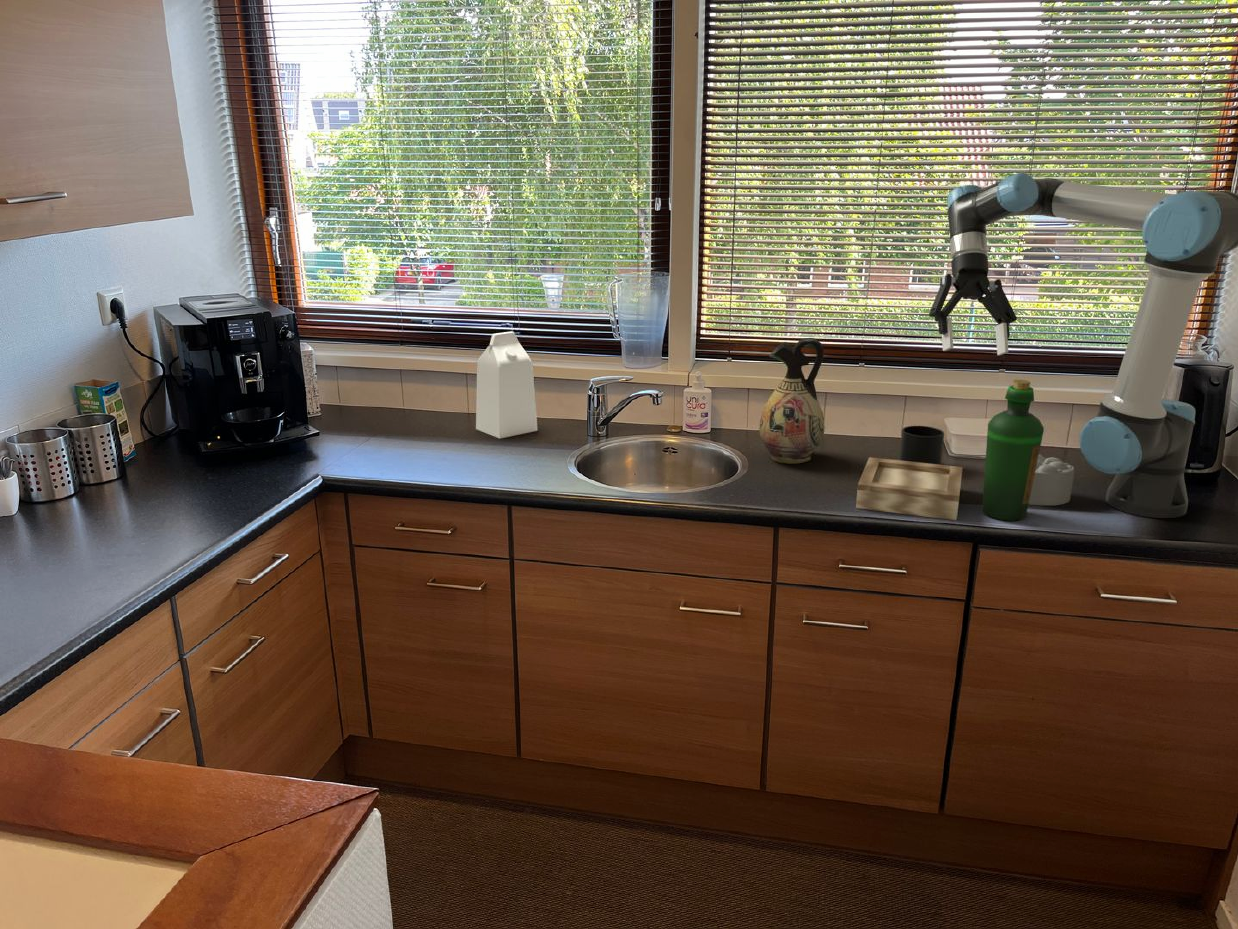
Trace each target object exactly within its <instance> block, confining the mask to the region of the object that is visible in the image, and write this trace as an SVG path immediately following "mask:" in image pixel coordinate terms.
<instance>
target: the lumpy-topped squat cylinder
mask: <svg viewBox="0 0 1238 929" xmlns="http://www.w3.org/2000/svg"><path fill="white" fill-rule="evenodd" d="M1074 475H1075V467H1074V466H1073V465H1070V464H1069V463H1068V462H1066V463H1065V462H1064V461H1062V460H1061V459H1059V458H1058V457H1048V458H1045V457H1044V456H1043V455H1042V454H1039V456H1038V461H1037V465H1036V470H1035V475H1034V480H1033V485H1032V489H1031V494H1030V499H1029V504H1028V506H1029V505H1030V506H1031V505H1032V506H1058V505H1064V504H1066V503H1069V502H1070V500H1071V495H1072V489H1073V484H1074Z"/></svg>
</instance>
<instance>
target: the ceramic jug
mask: <svg viewBox="0 0 1238 929" xmlns="http://www.w3.org/2000/svg"><path fill="white" fill-rule="evenodd" d="M806 347H808V348H813V349H814V351H815V352H816V357H815V360H814V363H813V365H812V368H811V371H810V372H809V374H808V376H807V378H805V375H804V372H803V371H802V367H805V366H809V364H810V361H809V359H808V357H807V356H806V354H804V352H802V349H803V348H806ZM769 357H770V358H772V359H774V360H777V361H779V362H781V363H783V364H785V366H786V367H787V369H786V370H787V371H786V373H785V376H784V378H783V380H782V381H780V383H779V384H778V385H777V387H776V388H775V389H774V391H773V392H772V393H771V395H770V397H769V398H768V400H767V401H766V403H765V405H764V407H763V410H762V413H761V416H760V420H759V424H758V425H759V428H758V430H759V435H760V440H761V442H762V443H763V445H764V447H765V448H766V449H767V451H768V452H769V454H770V455H769V457H770V459H771V460H773V461H774V462H777V463H781V464H788V465H790V464H791V465H792V464H794V465H795V464H802V463H805V462H809V461H811V459H812V457H811V455H812V454H813V453H814V452H815V451H816V450H817V448H818V447H819V446H821V444H822V442H823V438H824V434H825V418H824V417H825V416H824V413H823V410H822V408H821V404H820V402H819V400H818V396H817V391H816V386H815V385H816V384H815V380H816V377H817V375H818V373H819V371H820V368H821V366H822V364H823V360H824V347H823V344H822V343H821V342H820V340H818V339H816V338H814V337H807V338H806V337H804V338H802V339H800V340H798V341H797V343H795V345H794V347H793V348H792V347H791V345H790V344H789V342H787V341H784V342H782V343H781V344H779V345H778V346H777V347H776V348H775V349H774V350H772V352H771V353H770V354H769Z"/></svg>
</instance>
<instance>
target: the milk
mask: <svg viewBox="0 0 1238 929" xmlns="http://www.w3.org/2000/svg"><path fill="white" fill-rule="evenodd" d="M534 378H535V377H534V366H533V361H532V360H531V357H530V355H528V353H527V351H526V350H525V349H524V348H523V346H522V345H521V342H519V340H518V337H517V335H516V333H515V332H514V331H506V332H505V331H504V332H498V333H497V332H496V333H492V334H491V337H490V343H489V345H488V346H487V347H486V349H485V350H484V351H483V353H481V355H480V356H479V357H478V360H477V364H476V401H475V402H476V405H475V406H476V408H475V411H476V412H475V430H476V431H479V432H482V433H485V434H487V435H490V436H492V437H494V438H497V439H504V438H509V437H513V436H518V435H523V434H527V433H532V432H537V431H538V418H537V404H536V390H535V379H534Z"/></svg>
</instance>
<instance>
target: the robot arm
mask: <svg viewBox="0 0 1238 929" xmlns="http://www.w3.org/2000/svg"><path fill="white" fill-rule="evenodd" d="M946 212H947V214H946V215H947V219H948V227H949V228H948V229H949V245H950V247H949V248H950V249H949V250H950V258H951V262H950V264H951V274H950V273H947V274H946V275H944V276H941V277H940V279H939V280H940V282H939V288H938V291H937V293H936V296H935V298H934V301H933V303H932V305H931V307H930V310H929V312H928V315H929V317H930V318H934V322H935V323H938V325H937V326H938V333H939V335H941V343H942V346H941V347H942V351H943V352H947V351H949V350H951V349H953V348H954V336H953V320H952V319H953V318H951V317H949V315H950V314H951V313H952V311H953V310H954V309H955V307H956V306H957V305H958V303H959V302H960V301H961V300H968V299H969V300H972V301H976V300H977V301H978V303H980V304H982V305H983V307H984V308H985V309H986V311H987V312H988V313H989V314H990V315H991V317H992V318H993V320H994V321H995V322H996V323H997V325H995V340H996V341H995V342H996V353H997V354H996V355H997V356H1002V355H1005V354H1007V353H1009V342H1008V341H1009V340H1008V339H1010V337H1011V336H1010V335H1011V334H1010V324H1012V323H1014V322H1016V321H1017V319H1018V317H1017V315H1016V313H1015V311H1014V309H1013V307H1012V305H1011V302H1010V300H1009V299H1008V297H1007V295H1006V292H1005V291H1004V289H1003V284H1002V280H1001V279H999V278H997V279H995V280H989V278H988V275H989V274H988V273H989V270H990V269H989V268H990V267H989V257H988V255H987V254H988V253H989V252H988V242H987V240H988V239H987V229H986V228H987V225H991V224H993V223H995V222H997V221H1000V220H1003V219H1005V218H1008V217H1018V216H1019V217H1021V216H1045V217H1051V218H1059V219H1065V220H1066V219H1067V220H1073V221H1080V222H1084V223H1085V222H1086V223H1091V224H1099V225H1105V226H1111V227H1116V228H1117V227H1118V228H1123V229H1130V230H1136V231H1141V238H1142V242H1143V243H1144V245H1145V250H1146V253H1145V257H1144V260H1143V264H1144V265H1145V266H1146V268H1147V269H1148V272H1149V274H1148V277H1147V281H1146V284H1145V287H1144V291H1143V294H1142V297H1141V300H1140V304H1139V307H1138V310H1137V313H1136V316H1135V319H1134V322H1133V325H1132V329H1131V332H1130V335H1129V340H1128V342H1127V345H1126V349H1125V351H1124V352H1125V353H1124V355H1123V358H1122V361H1121V365H1120V367H1119V371H1118V373H1117V377H1116V380H1115V384H1114V386H1113V390H1112V392H1111V393H1109V394H1107V395H1104V396H1103V397H1102V398H1101V401H1100V404H1099V407H1098V410H1097V413H1096V417H1093V418H1092V419H1090V420H1088V422H1087V423H1086V424H1085V425H1083V427H1082V429H1081V431H1080V435H1079V447H1080V451H1081V453H1082V455H1083V456H1084V457H1085V461H1086V462H1087V463H1088V464H1089V465H1090V466H1091V467H1092V468H1094V469H1095V470H1097V471H1098V472H1101V473H1105V474H1107V475H1108V474H1109V475H1115V476H1114V478H1113V479H1112V481H1111V483H1110V484H1109V487H1107V491H1106V496H1105V497H1106V498H1105V502H1106V504H1108V505H1109V506H1110V507H1111V508H1114V509H1116V510H1118V511H1121V512H1124V513H1127V514H1131V515H1135V516H1139V517H1146V518H1155V519H1174V518H1180V517H1183V516H1184V515H1186V514H1187V511H1188V507H1189V498H1188V493H1187V487H1186V483H1185V469H1186V464H1187V461H1188V455H1189V449H1190V444H1191V440H1192V435H1193V430H1194V427H1195V425H1196V421H1195V420H1196V419H1195V418H1196V408H1195V407H1194V406H1193V405H1191V404H1189V403H1187V402H1183V401H1179V400H1174V399H1170V398H1163V397H1164V394H1165V391H1166V389H1167V385H1168V382H1169V380H1170V378H1171V373H1172V370H1173V367H1174V365H1175V362H1176V358H1177V356H1178V353H1179V349H1180V346H1181V344H1182V341H1183V337H1184V334H1185V333H1186V332H1185V331H1186V328H1187V325H1188V323H1189V319H1190V317H1191V314H1192V311H1193V307H1194V305H1195V301H1196V299H1197V296H1198V293H1199V290H1200V287H1201V285H1202V284H1201V283H1202V282H1203V281H1204V280H1205V279H1207V278H1209V277H1211V276H1212V275H1214V274H1215V272H1216V269H1217V266H1218V263H1219V260H1220V257H1221V255H1223V254H1227V253H1229V252H1231V251H1233V250H1235V249H1237V248H1238V193H1236V192H1232V191H1230V190H1197V191H1196V190H1187V191H1183V192H1178V193H1176V194H1175V193H1167V192H1165V193H1164V192H1157V191H1148V190H1141V189H1139V190H1138V189H1133V188H1123V187H1115V186H1107V185H1099V184H1091V183H1089V184H1088V183H1082V182H1074V181H1073V182H1072V181H1063V180H1062V179H1058V178H1051V177H1045V178H1038V179H1037V178H1035V179H1034V178H1033V176H1031V175H1029V174H1028V173H1027V172H1017V173H1015V174H1013V175H1008V176H1006V177H1005V178H1003V179H1002V180H999V181H997V182H995V183H993V184H990V185H988V186H986V187H984V188H982V187H981V186H979V185H976V184H966V185H965V184H964V185H963V186H958V187H956V188H954V189H952V190H951V191H950V192H949V193H948V195H947V209H946ZM952 285H953V287H954V289H955V291H954V292H953V293H952V295H951V296H950V299H949V300H948V301H947V302H946V299H947V297H948V295H949V292H950V289H951V287H952ZM945 302H946V304H945Z"/></svg>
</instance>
